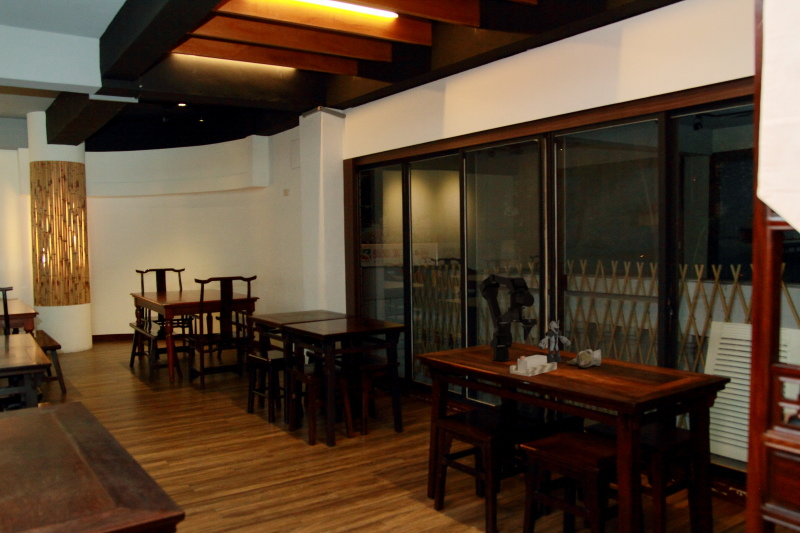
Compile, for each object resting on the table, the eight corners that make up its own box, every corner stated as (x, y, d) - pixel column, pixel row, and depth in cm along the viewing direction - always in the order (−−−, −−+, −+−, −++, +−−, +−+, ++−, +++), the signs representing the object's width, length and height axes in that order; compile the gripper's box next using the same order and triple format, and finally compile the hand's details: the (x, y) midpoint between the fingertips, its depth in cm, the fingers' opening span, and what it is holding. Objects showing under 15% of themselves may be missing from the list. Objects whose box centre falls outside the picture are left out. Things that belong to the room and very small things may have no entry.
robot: (565, 358, 302) (565, 316, 301) (573, 360, 298) (573, 317, 297) (535, 363, 291) (534, 320, 291) (542, 365, 287) (542, 321, 286)
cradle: (529, 376, 265) (529, 369, 265) (509, 373, 272) (509, 366, 272) (556, 369, 278) (556, 362, 278) (537, 366, 286) (537, 359, 286)
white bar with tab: (525, 372, 268) (525, 357, 267) (516, 371, 271) (516, 356, 271) (549, 366, 279) (549, 352, 279) (540, 365, 283) (540, 350, 283)
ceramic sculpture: (607, 347, 280) (579, 352, 275) (609, 367, 281) (580, 372, 276) (592, 344, 290) (564, 348, 285) (593, 362, 291) (566, 367, 286)
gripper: (488, 305, 287) (488, 339, 288) (522, 307, 273) (522, 344, 274) (504, 303, 295) (504, 336, 295) (537, 305, 281) (538, 340, 282)
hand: (516, 339), depth 286 cm, fingers open, 9 cm apart
